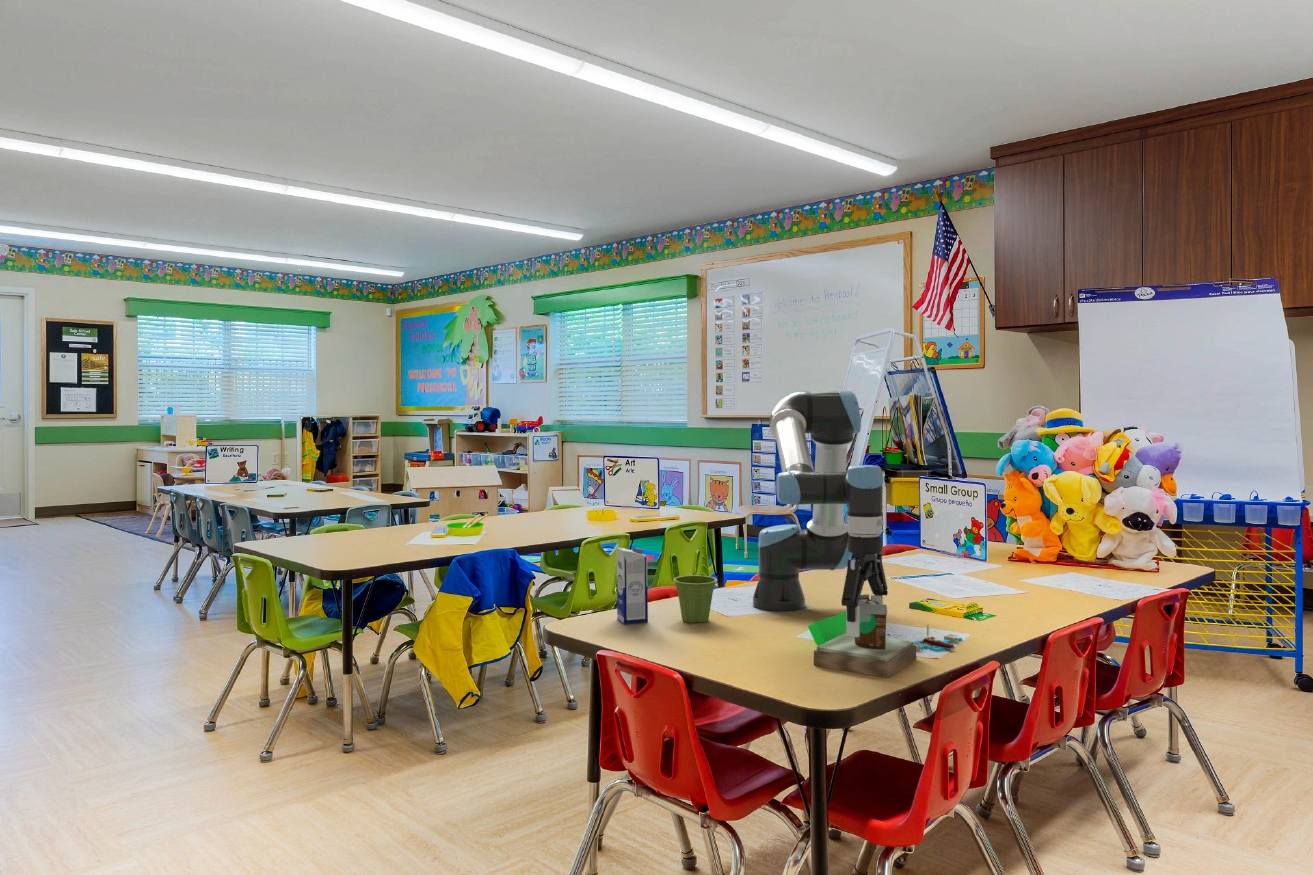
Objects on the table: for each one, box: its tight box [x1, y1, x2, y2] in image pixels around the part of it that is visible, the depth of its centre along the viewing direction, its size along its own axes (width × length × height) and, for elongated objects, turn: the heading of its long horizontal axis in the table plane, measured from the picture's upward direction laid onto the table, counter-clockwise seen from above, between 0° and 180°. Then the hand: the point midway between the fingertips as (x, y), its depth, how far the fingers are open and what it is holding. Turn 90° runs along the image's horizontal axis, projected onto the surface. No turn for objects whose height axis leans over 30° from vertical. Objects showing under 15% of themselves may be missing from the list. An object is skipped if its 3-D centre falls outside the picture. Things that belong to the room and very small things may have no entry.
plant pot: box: [673, 574, 718, 624], centre depth 233 cm, size 12×12×11 cm
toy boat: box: [912, 623, 963, 653], centre depth 204 cm, size 20×5×9 cm
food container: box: [855, 594, 888, 650], centre depth 191 cm, size 12×6×10 cm, turn 5°
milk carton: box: [616, 546, 649, 625], centre depth 234 cm, size 7×7×20 cm
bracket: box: [807, 611, 847, 647], centre depth 209 cm, size 20×10×7 cm
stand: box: [813, 632, 917, 679], centre depth 191 cm, size 17×17×4 cm
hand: (865, 630), depth 191 cm, fingers open, 13 cm apart
